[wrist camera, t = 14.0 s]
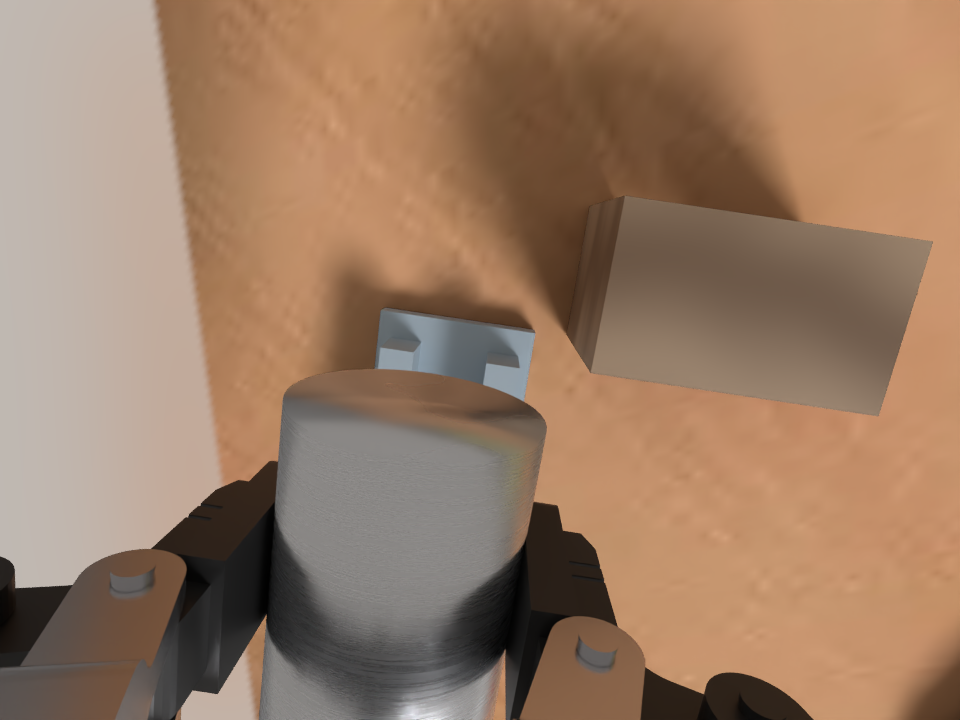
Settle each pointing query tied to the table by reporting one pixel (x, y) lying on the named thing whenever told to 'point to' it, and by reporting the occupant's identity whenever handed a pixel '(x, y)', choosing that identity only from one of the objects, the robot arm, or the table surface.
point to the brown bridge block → (743, 303)
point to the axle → (396, 546)
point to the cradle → (456, 349)
